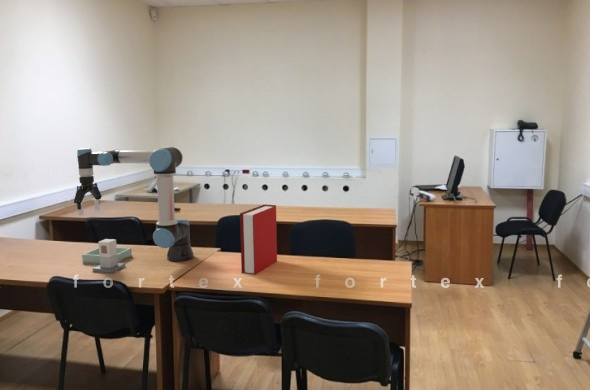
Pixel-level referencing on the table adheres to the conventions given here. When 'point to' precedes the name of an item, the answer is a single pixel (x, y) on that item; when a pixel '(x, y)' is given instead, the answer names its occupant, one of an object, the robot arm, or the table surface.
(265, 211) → the book
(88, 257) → the bin
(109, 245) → the white grey block
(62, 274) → the table surface
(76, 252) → the table surface
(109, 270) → the stud block
